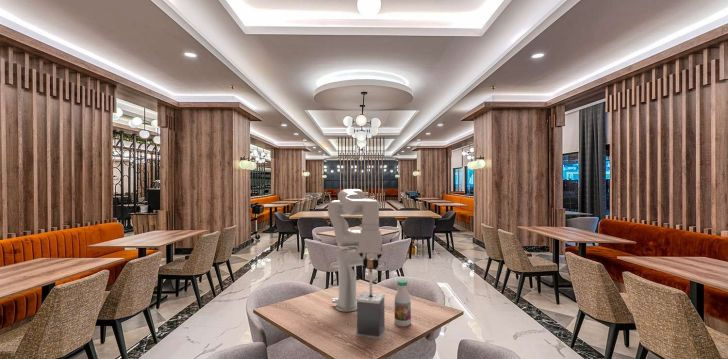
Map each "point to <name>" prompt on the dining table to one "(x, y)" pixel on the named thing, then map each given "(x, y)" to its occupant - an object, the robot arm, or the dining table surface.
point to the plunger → (370, 266)
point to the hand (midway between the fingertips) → (370, 267)
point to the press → (370, 315)
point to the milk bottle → (402, 305)
